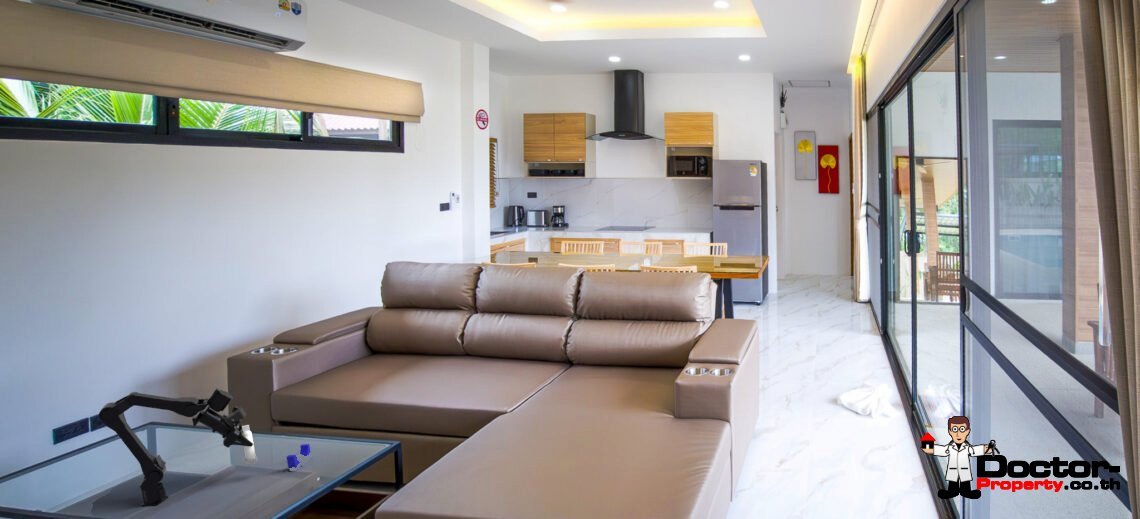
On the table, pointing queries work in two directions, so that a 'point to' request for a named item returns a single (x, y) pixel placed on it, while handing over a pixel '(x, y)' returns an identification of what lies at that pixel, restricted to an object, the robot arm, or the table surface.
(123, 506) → the table surface
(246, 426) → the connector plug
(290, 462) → the blue blocks
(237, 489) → the table surface
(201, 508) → the table surface
